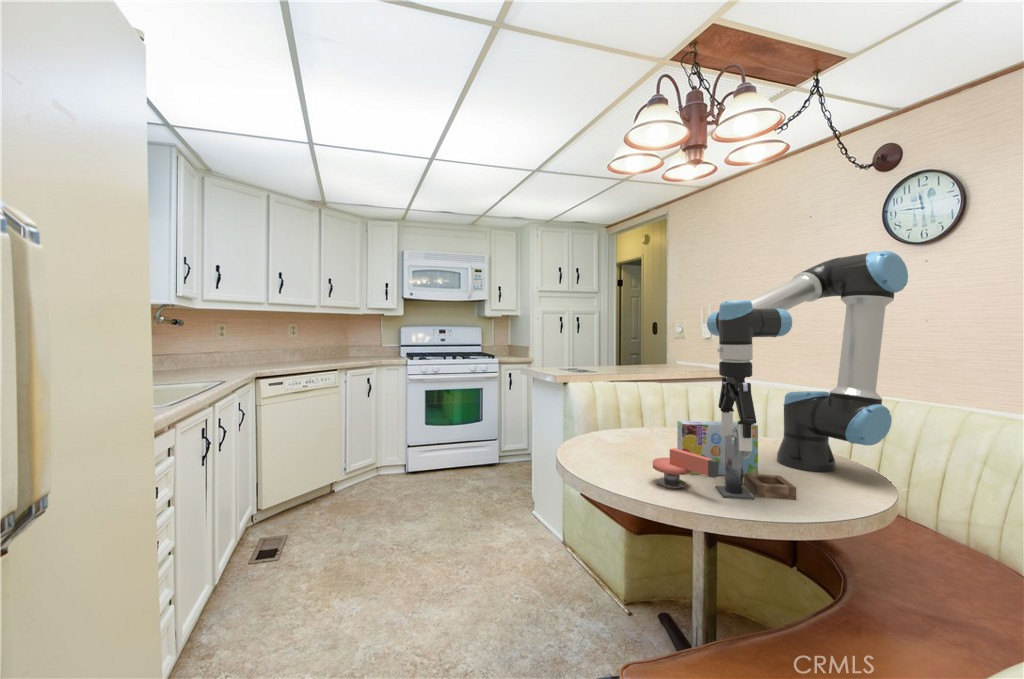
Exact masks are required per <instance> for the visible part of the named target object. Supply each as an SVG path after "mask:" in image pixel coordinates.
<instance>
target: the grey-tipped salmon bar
mask: <svg viewBox="0 0 1024 679" xmlns="http://www.w3.org/2000/svg"><path fill="white" fill-rule="evenodd" d="M652 468H653V470H655V471H657V472H660V473H662V474H664V473H666V474H673V475H680V476H682V475H685V476H686V475H690V474H689V473H691V472H692V471H693V472H696V473H699V474H698V475H702V476H703V475H704V476H705V477H709V478H712V479H715V478H719V476H720V475H719V461H718V460H714V459H711V458H707V457H704V456H700V455H697V454H693V453H690V452H686V451H683V450H679V449H677V447H675V448H674V447H673V448H669V457H657V458H654V459H653V460H652Z"/></svg>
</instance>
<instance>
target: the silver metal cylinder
mask: <svg viewBox="0 0 1024 679" xmlns="http://www.w3.org/2000/svg"><path fill="white" fill-rule="evenodd" d="M724 479H725V480H724V486H725V491H727V492H729V493H732V494H742V493H743V487H744V486H743V485H744V476H743V451H740V450H739V436H734V435H727V436H726V459H725V475H724Z"/></svg>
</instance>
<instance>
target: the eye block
mask: <svg viewBox="0 0 1024 679" xmlns="http://www.w3.org/2000/svg"><path fill="white" fill-rule="evenodd" d="M743 485H744V486H745V487H746V488H747V489H748V490H749V491H750V492H751V494H753V495H754V496H755V497H756V498H765V499H779V500H780V499H781V500H782V499H783V500H795V501H796V500H797V486H795V485H793V484H792V483H791V482H790V481H788V480H787V479H785V478H784V477H783V476H782V475H775V474H762V473H761V474H759V473H758V474H744V476H743Z"/></svg>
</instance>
